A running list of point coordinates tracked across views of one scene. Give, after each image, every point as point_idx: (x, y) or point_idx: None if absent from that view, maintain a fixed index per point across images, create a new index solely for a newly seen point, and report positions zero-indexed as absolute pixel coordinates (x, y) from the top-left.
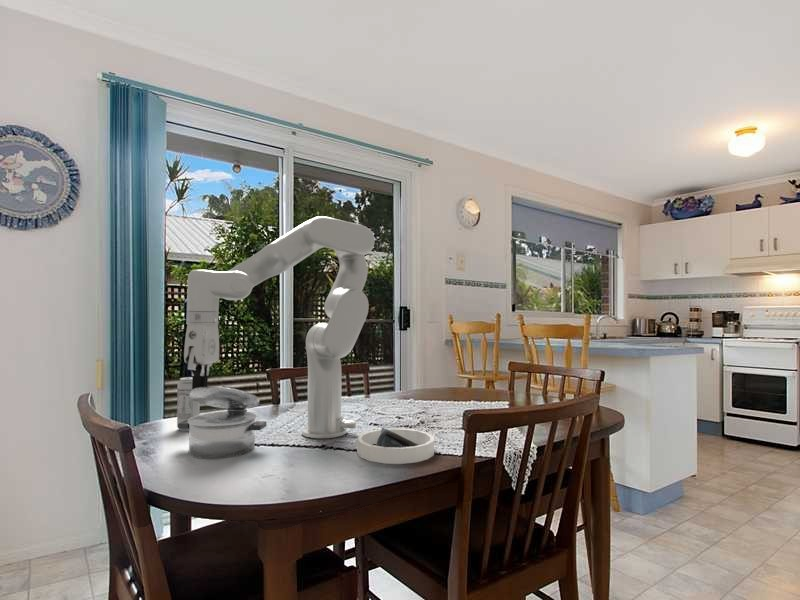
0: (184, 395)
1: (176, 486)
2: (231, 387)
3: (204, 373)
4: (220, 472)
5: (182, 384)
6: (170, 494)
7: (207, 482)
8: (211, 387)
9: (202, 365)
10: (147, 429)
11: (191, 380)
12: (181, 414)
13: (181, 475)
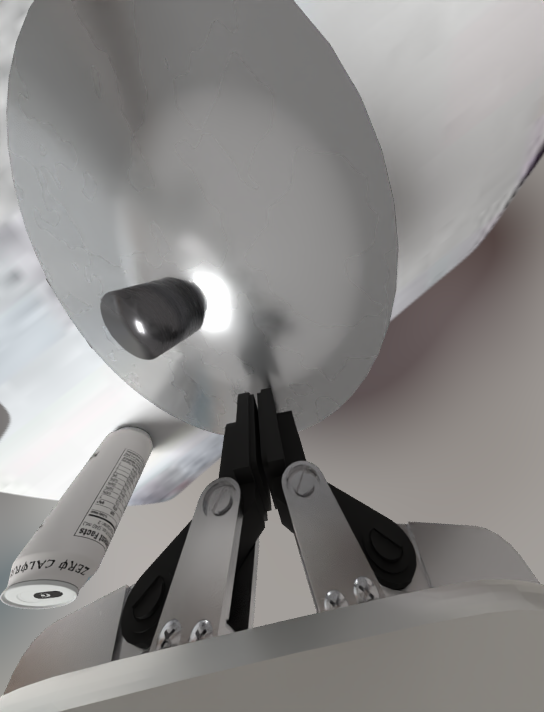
0: (110, 518)
1: (471, 204)
2: (120, 290)
3: (244, 501)
4: (393, 152)
5: (91, 566)
6: (514, 183)
7: (459, 139)
8: (394, 289)
9: (359, 590)
10: (173, 484)
11: (50, 577)
12: (139, 470)
13: (408, 241)
